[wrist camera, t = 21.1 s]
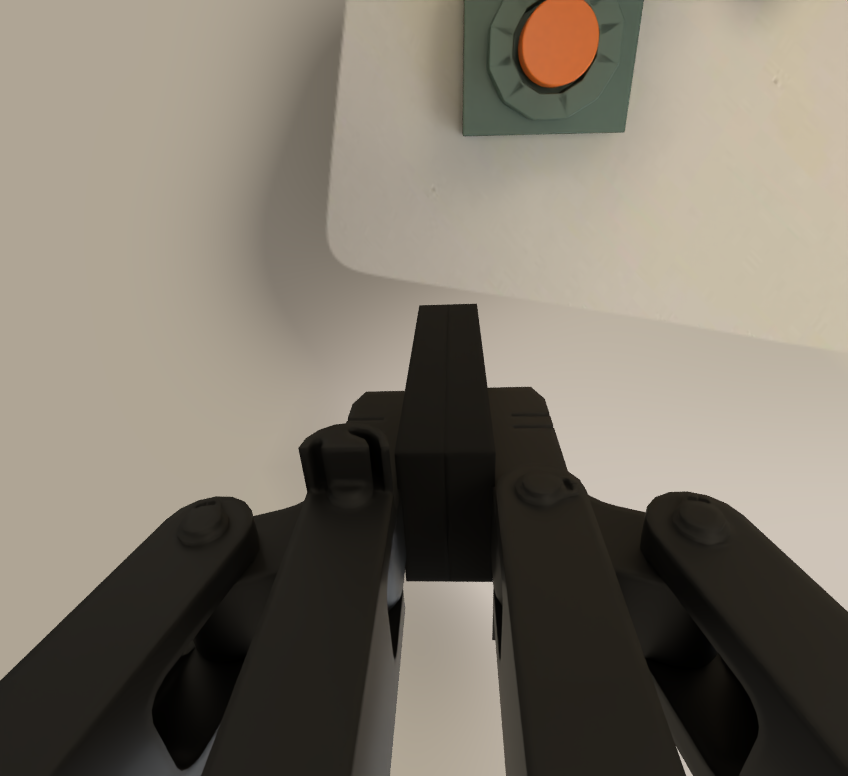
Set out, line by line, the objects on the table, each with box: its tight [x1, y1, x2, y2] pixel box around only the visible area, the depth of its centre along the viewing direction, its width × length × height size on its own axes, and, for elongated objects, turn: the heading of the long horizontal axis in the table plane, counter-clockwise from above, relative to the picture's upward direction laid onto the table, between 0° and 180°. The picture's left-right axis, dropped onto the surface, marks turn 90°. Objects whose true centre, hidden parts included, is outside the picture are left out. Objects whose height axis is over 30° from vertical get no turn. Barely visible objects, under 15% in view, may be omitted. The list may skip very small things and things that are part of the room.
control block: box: [462, 0, 644, 136], centre depth 27 cm, size 9×8×4 cm
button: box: [518, 0, 599, 88], centre depth 25 cm, size 4×4×2 cm
